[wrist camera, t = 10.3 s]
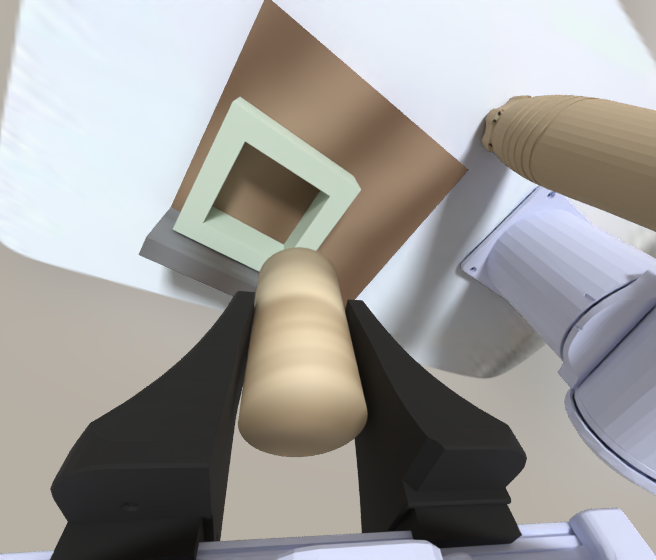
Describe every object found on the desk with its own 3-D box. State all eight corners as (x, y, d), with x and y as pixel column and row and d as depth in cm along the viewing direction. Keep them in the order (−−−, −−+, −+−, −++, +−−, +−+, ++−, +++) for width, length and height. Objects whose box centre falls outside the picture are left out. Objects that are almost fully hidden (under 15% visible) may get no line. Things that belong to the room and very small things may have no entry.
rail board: (461, 165, 21) (504, 191, 17) (342, 303, 26) (352, 348, 22) (267, -1, 15) (259, -24, 11) (168, 216, 21) (138, 254, 17)
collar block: (353, 176, 19) (361, 189, 17) (289, 265, 22) (289, 286, 20) (239, 96, 16) (232, 101, 14) (184, 211, 20) (172, 229, 18)
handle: (441, 157, 20) (676, 306, 8) (515, 45, 17) (1076, 7, 5) (495, 190, 22) (762, 357, 10) (572, 93, 19) (1103, 153, 7)
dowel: (330, 314, 16) (353, 456, 10) (256, 310, 15) (237, 458, 10) (343, 251, 14) (381, 382, 8) (259, 243, 13) (238, 379, 8)
